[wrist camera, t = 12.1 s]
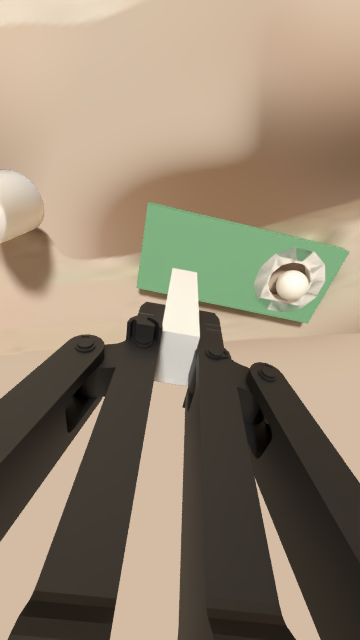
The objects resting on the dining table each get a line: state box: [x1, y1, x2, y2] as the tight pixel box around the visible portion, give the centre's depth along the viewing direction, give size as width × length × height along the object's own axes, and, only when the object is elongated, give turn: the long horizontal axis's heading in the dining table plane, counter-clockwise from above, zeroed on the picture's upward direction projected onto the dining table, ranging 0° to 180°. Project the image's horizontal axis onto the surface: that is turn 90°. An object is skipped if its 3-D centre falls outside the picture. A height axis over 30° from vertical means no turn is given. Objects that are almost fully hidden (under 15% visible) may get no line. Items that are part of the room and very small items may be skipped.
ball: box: [276, 270, 308, 300], centre depth 37 cm, size 4×4×4 cm
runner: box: [137, 202, 349, 323], centre depth 37 cm, size 12×28×2 cm, turn 78°
